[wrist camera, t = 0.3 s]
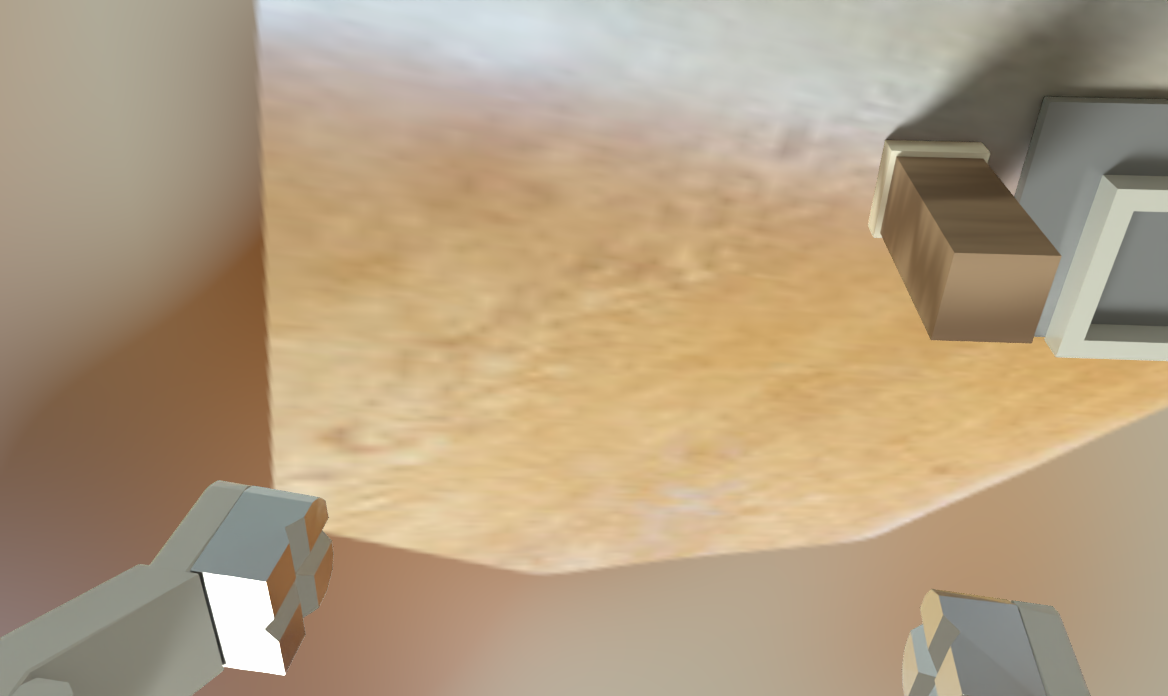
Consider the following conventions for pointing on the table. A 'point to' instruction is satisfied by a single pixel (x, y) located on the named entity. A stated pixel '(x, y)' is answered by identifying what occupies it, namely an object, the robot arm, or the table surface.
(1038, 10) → the table surface
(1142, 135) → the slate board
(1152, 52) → the table surface
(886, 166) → the walnut box
